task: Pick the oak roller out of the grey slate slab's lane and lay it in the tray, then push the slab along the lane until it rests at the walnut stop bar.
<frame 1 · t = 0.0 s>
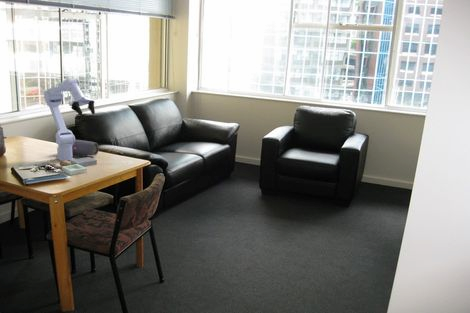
hand: (87, 113, 252), 32 cm above the table, tool tilted 50°, fingers open, 7 cm apart
bluetooth speaker: (79, 155, 289), on the table
tray: (74, 171, 255), on the table
slab: (83, 164, 270), on the table
roller: (65, 167, 262), on the table
stop bar: (53, 169, 257), on the table
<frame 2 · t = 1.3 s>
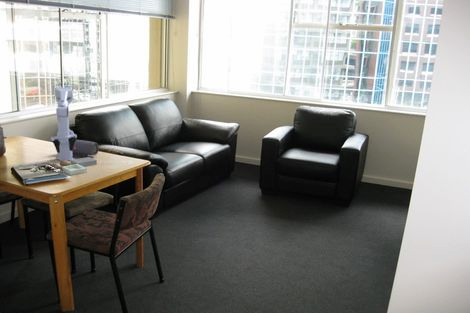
hand: (64, 151, 259), 9 cm above the table, tool pointing down, fingers open, 7 cm apart
nothing on the table moved.
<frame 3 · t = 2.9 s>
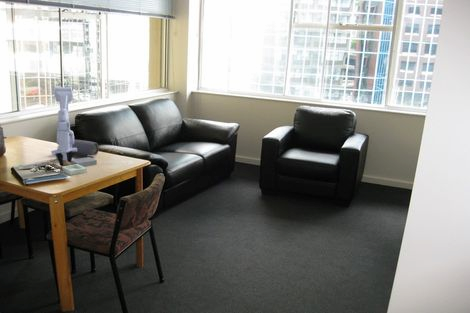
hand: (65, 165, 261), 1 cm above the table, tool pointing down, fingers closed on roller, 4 cm apart
roller: (65, 167, 262), on the table, touching gripper
everything else where it was.
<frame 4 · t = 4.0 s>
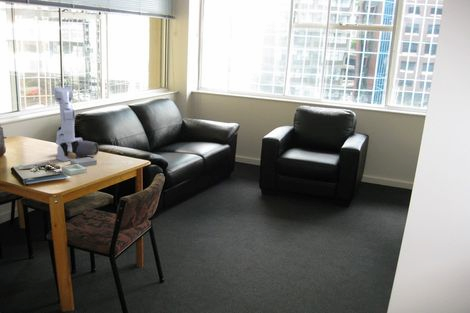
hand: (70, 155, 255), 9 cm above the table, tool pointing down, fingers closed on roller, 4 cm apart
roller: (69, 158, 256), point 7 cm above the table, tilted 6°, touching gripper
everything else where it was.
when the fingers open (3 cm above the table, at t = 5.5 s): roller stays where it is, resting on tray.
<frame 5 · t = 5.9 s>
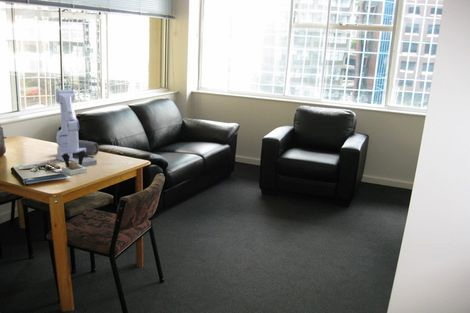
hand: (74, 165, 254), 3 cm above the table, tool pointing down, fingers open, 7 cm apart
roller: (73, 170, 255), point 1 cm above the table, touching tray
everything else where it was.
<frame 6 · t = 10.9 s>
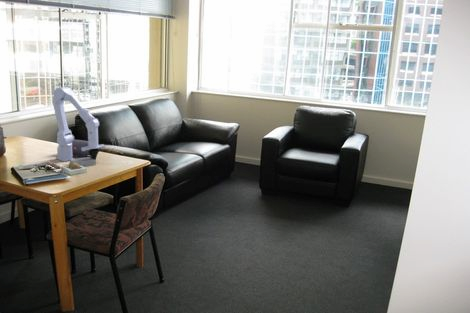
hand: (93, 160, 274), 1 cm above the table, tool pointing down, fingers closed
roller: (73, 169, 255), point 1 cm above the table, tilted 18°, touching tray
everything else where it was.
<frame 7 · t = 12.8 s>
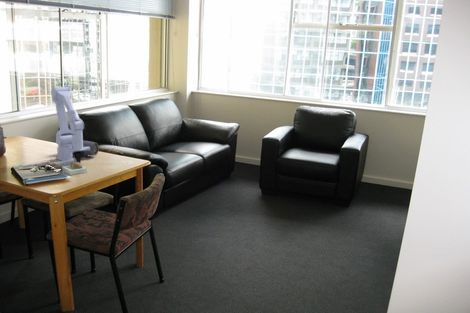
hand: (78, 163, 267), 1 cm above the table, tool pointing down, fingers closed
slab: (67, 167, 263), on the table, touching gripper
roller: (74, 169, 255), point 1 cm above the table, tilted 46°, touching tray
everything else where it was.
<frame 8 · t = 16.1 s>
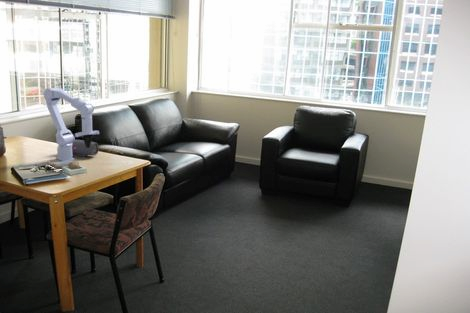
hand: (87, 147, 270), 10 cm above the table, tool pointing down, fingers closed
slab: (65, 168, 262), on the table
roller: (73, 170, 255), point 1 cm above the table, tilted 13°, touching tray
everything else where it was.
at the end: slab 0.5 cm from the target spot, on the table; roller inside the target area on the tray (0.2 cm from its centre), point 0.8 cm above the tray's base; roller touching tray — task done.
